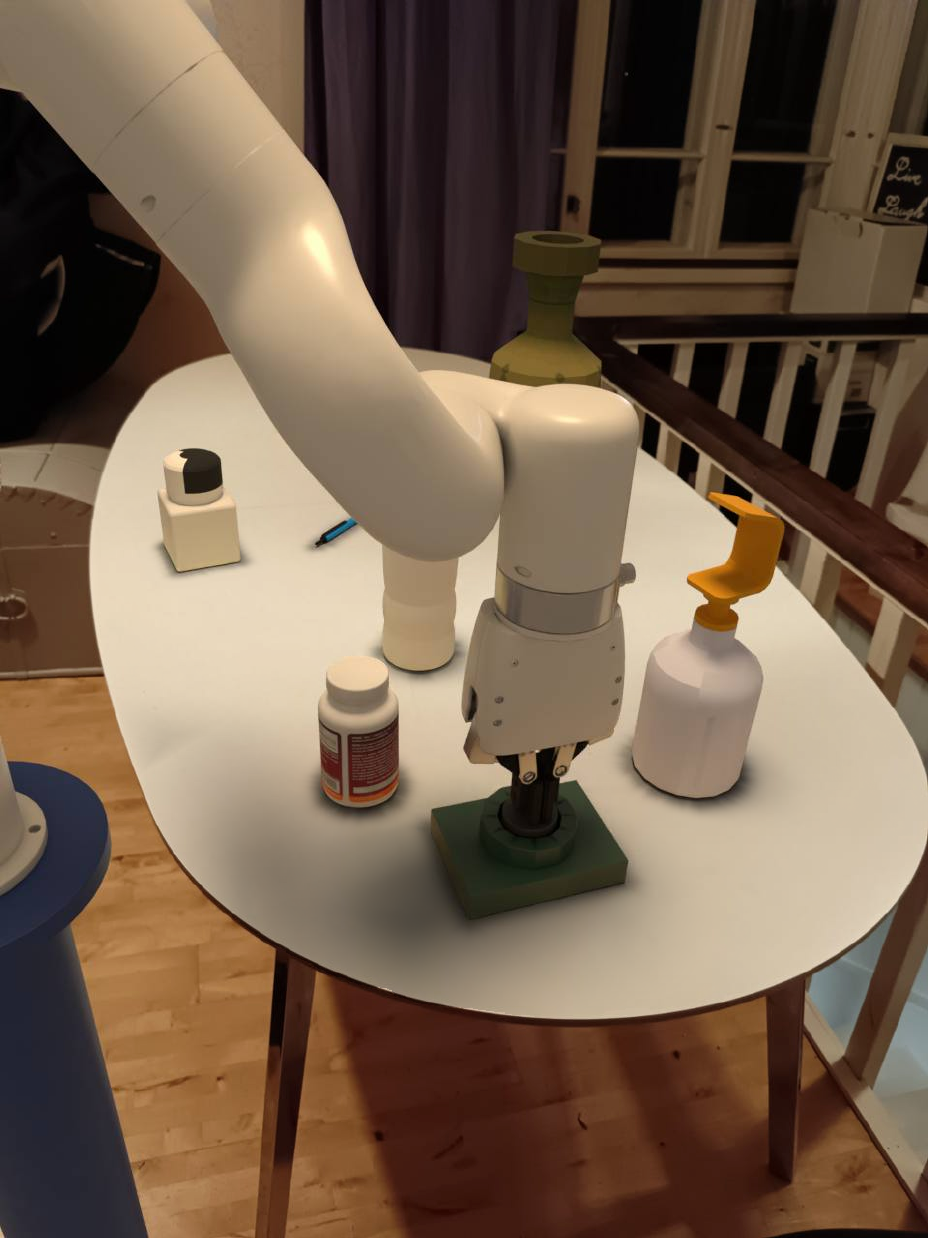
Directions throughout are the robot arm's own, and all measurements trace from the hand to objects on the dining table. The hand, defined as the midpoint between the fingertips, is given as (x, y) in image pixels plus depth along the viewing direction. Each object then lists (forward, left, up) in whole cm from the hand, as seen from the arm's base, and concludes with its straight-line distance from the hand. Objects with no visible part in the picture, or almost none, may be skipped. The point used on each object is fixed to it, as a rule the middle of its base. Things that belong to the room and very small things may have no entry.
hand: (532, 810), depth 69 cm
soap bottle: (+17, +6, -5) cm, 19 cm away
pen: (+2, +59, -5) cm, 59 cm away
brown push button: (0, 0, -2) cm, 2 cm away
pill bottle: (-10, +11, -5) cm, 16 cm away
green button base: (0, 0, -5) cm, 5 cm away
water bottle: (0, +28, -5) cm, 28 cm away
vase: (+31, +72, -5) cm, 79 cm away
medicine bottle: (-18, +54, -5) cm, 57 cm away
